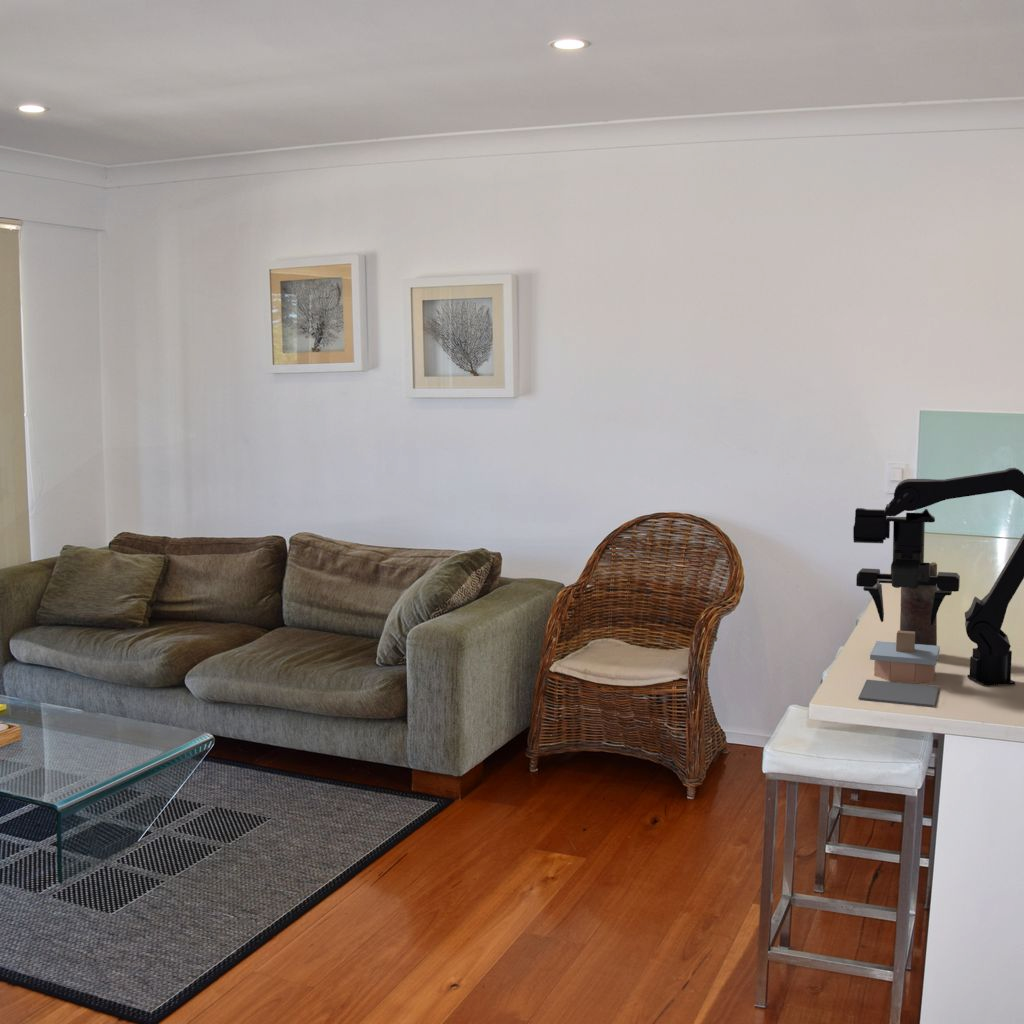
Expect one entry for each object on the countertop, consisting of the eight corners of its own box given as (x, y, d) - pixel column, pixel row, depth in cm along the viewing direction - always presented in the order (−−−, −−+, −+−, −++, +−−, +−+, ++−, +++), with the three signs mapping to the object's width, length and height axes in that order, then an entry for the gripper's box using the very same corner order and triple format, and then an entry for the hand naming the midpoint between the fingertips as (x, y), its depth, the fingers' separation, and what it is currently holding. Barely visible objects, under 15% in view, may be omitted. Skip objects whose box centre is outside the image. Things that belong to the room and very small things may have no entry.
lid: (876, 645, 227) (877, 624, 226) (939, 650, 222) (940, 628, 221) (870, 659, 216) (870, 636, 215) (936, 665, 211) (936, 642, 210)
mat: (866, 681, 215) (866, 679, 215) (938, 688, 210) (938, 686, 210) (858, 699, 203) (858, 697, 203) (934, 707, 198) (934, 704, 198)
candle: (891, 652, 237) (893, 559, 235) (919, 648, 240) (921, 557, 237) (915, 660, 230) (918, 565, 228) (944, 656, 233) (947, 562, 230)
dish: (878, 665, 226) (878, 646, 226) (936, 670, 222) (936, 651, 221) (872, 679, 216) (873, 659, 216) (932, 684, 212) (933, 664, 211)
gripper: (853, 548, 212) (852, 628, 214) (958, 552, 205) (956, 635, 207) (860, 540, 223) (859, 616, 224) (960, 544, 215) (958, 623, 217)
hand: (906, 623), depth 218 cm, fingers open, 9 cm apart
